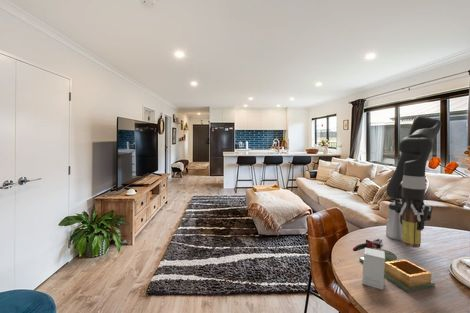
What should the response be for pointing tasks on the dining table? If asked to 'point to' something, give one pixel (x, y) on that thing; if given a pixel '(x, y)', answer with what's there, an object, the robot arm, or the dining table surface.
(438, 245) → the dining table surface
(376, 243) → the pliers
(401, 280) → the chute mount
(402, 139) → the robot arm
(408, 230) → the sauce bottle
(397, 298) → the dining table surface
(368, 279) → the supplement box
